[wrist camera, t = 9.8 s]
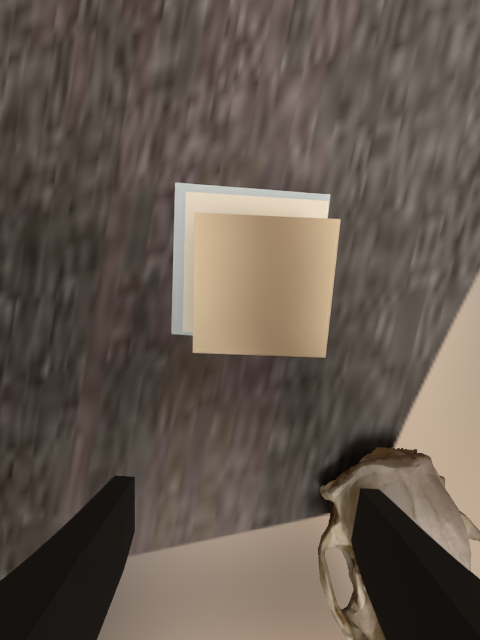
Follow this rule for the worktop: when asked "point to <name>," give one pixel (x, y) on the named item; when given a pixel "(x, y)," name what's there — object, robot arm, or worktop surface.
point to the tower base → (180, 234)
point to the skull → (411, 497)
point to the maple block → (263, 284)
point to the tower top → (241, 207)
